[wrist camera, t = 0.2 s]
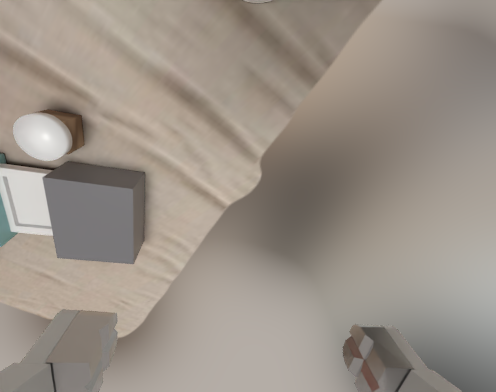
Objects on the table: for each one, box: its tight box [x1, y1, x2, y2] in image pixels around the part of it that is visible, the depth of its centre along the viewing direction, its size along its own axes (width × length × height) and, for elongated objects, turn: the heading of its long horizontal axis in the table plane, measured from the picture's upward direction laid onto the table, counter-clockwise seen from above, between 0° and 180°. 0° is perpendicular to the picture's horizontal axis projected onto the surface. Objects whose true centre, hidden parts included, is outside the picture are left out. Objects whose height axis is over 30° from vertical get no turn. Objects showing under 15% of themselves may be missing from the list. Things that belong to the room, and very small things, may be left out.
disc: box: [13, 112, 72, 161], centre depth 36 cm, size 7×7×2 cm
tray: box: [0, 153, 53, 247], centre depth 44 cm, size 16×13×5 cm
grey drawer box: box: [42, 162, 145, 264], centre depth 45 cm, size 16×13×7 cm
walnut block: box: [36, 110, 84, 154], centre depth 39 cm, size 5×5×5 cm
